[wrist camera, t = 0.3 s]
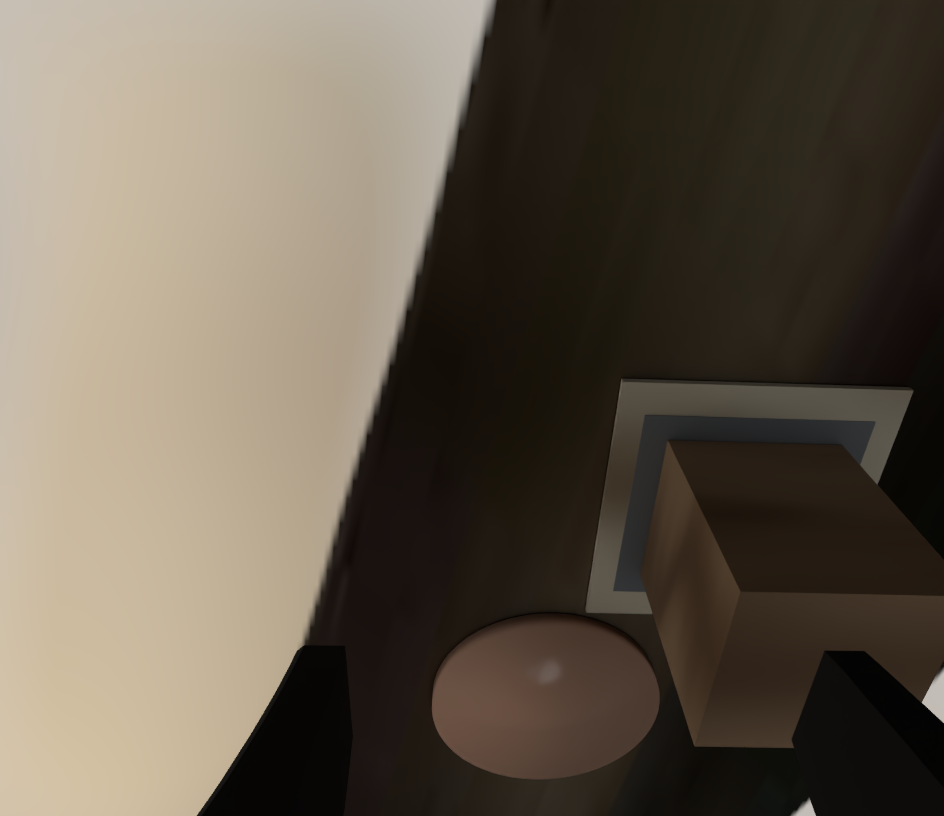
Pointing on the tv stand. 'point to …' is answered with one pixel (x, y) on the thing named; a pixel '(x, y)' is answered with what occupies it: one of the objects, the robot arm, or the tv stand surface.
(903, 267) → the tv stand surface
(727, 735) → the walnut block
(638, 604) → the board
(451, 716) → the coaster
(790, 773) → the tv stand surface
